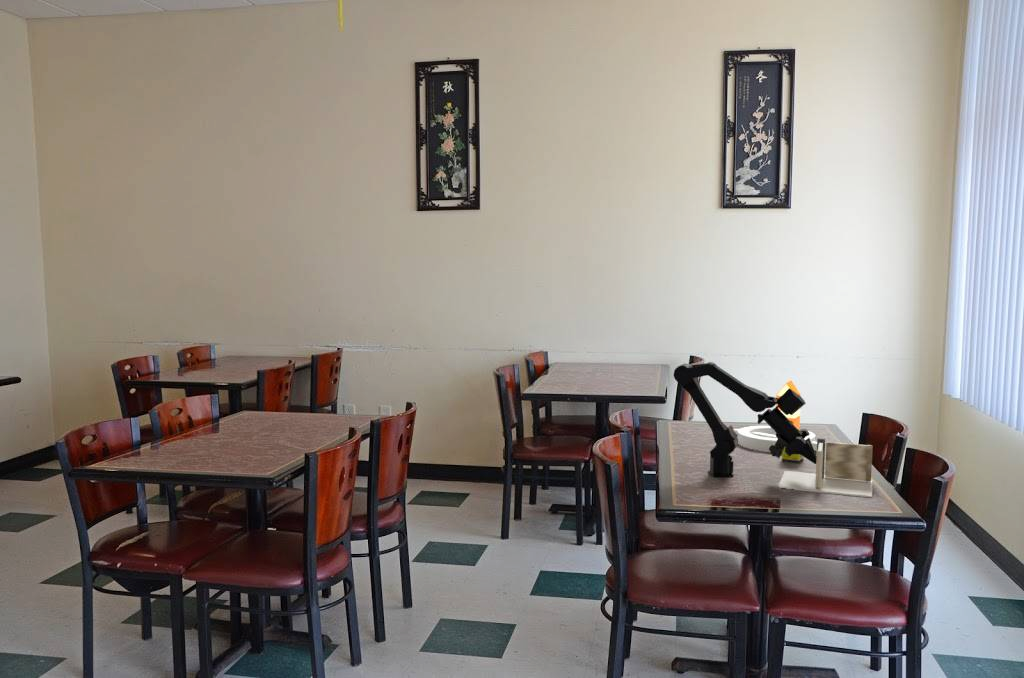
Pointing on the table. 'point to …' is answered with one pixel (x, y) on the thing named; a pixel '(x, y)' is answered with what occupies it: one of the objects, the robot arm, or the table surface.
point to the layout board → (825, 484)
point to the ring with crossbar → (763, 438)
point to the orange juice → (796, 416)
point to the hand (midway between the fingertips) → (816, 462)
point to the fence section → (847, 460)
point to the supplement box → (792, 456)
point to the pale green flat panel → (819, 466)
